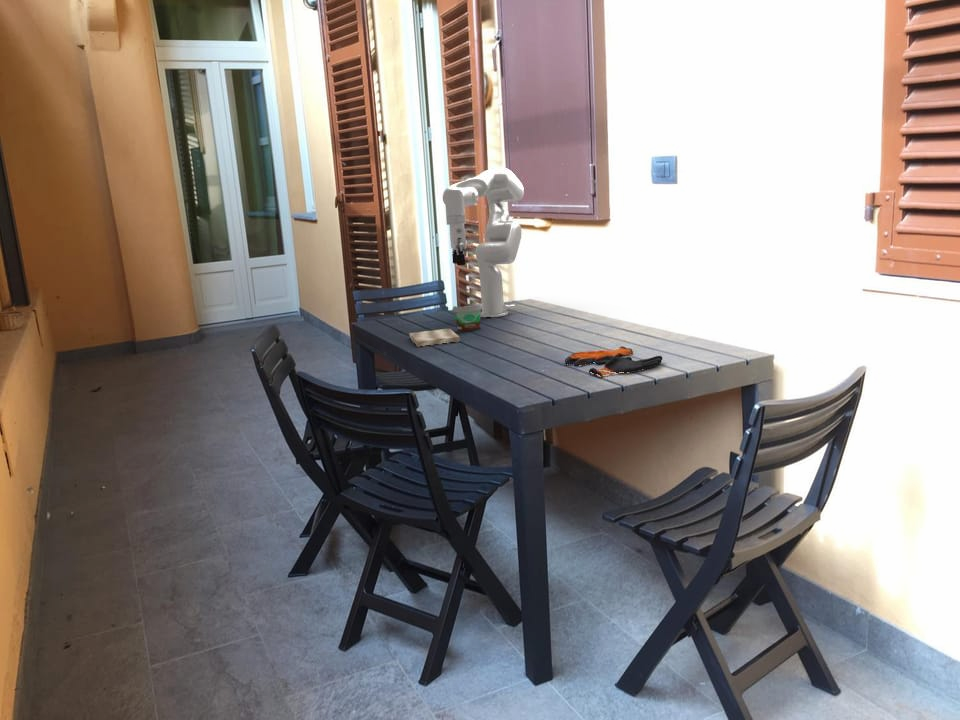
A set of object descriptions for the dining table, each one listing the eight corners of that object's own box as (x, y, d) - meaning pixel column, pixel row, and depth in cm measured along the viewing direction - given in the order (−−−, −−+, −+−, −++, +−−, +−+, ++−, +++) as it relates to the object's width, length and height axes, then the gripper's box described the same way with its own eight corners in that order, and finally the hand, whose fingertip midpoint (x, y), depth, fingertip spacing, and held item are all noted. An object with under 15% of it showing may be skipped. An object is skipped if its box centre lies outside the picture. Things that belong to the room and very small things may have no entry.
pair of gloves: (556, 363, 251) (555, 353, 251) (620, 351, 261) (620, 341, 260) (603, 381, 227) (602, 369, 226) (672, 367, 236) (672, 356, 235)
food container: (459, 333, 308) (457, 308, 306) (454, 330, 314) (452, 306, 311) (488, 328, 312) (486, 304, 310) (482, 326, 318) (480, 302, 316)
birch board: (450, 333, 309) (449, 328, 309) (459, 341, 292) (459, 336, 292) (410, 338, 306) (409, 333, 305) (417, 347, 289) (416, 341, 288)
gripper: (469, 220, 299) (472, 265, 303) (461, 219, 316) (464, 262, 319) (450, 221, 298) (453, 266, 301) (443, 220, 315) (446, 263, 318)
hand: (458, 264), depth 310 cm, fingers open, 9 cm apart
